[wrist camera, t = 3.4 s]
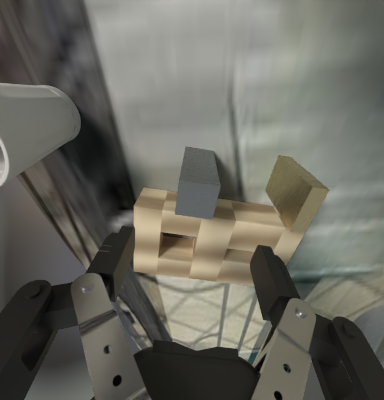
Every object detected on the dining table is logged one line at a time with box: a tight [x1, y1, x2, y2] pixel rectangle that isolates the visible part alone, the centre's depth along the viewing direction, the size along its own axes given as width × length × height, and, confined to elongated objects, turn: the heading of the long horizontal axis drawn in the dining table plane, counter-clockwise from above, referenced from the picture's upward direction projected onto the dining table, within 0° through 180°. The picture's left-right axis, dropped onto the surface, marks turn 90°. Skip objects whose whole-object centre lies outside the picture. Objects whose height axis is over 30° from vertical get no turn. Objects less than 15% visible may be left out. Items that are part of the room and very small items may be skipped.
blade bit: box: [265, 155, 329, 233], centre depth 23 cm, size 5×2×9 cm, turn 171°
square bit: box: [175, 147, 221, 220], centre depth 22 cm, size 4×4×10 cm
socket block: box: [134, 187, 305, 286], centre depth 30 cm, size 12×22×5 cm, turn 81°
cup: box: [0, 83, 81, 187], centre depth 19 cm, size 8×8×12 cm
